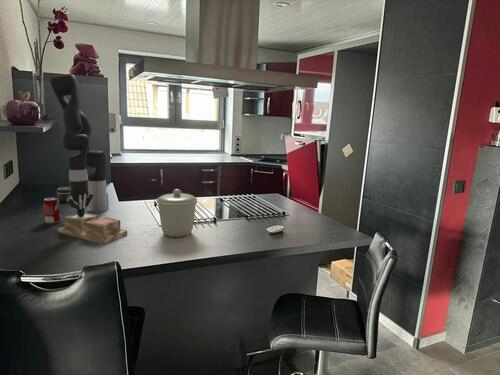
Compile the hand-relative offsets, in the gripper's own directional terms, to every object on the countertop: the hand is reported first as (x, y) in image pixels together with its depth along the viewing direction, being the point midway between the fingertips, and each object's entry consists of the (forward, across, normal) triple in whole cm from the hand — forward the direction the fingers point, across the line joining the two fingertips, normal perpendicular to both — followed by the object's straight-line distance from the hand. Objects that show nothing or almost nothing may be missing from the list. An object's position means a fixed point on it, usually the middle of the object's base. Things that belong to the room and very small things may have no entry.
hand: (81, 216), depth 160 cm
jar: (+7, -33, -57) cm, 66 cm away
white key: (+3, 0, 0) cm, 3 cm away
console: (+7, 0, +7) cm, 10 cm away
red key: (+3, 0, +14) cm, 14 cm away
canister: (+7, -20, +39) cm, 45 cm away
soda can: (+7, -1, -23) cm, 24 cm away
